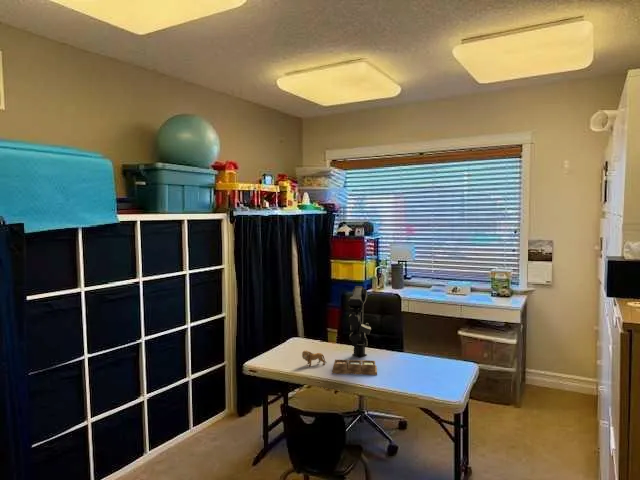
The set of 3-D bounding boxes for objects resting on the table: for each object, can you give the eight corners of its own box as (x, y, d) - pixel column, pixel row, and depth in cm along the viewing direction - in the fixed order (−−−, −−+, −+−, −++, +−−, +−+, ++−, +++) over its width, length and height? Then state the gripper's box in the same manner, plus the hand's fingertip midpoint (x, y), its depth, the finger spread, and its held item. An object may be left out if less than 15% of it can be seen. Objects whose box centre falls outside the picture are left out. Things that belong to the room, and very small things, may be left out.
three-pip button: (336, 368, 240) (336, 364, 240) (336, 365, 245) (336, 361, 245) (345, 368, 240) (345, 364, 240) (345, 365, 245) (345, 361, 245)
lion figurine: (303, 368, 247) (303, 352, 246) (300, 365, 252) (300, 349, 251) (328, 364, 252) (328, 349, 251) (324, 361, 257) (324, 346, 256)
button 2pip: (363, 369, 239) (363, 365, 239) (364, 366, 244) (364, 362, 244) (373, 369, 238) (373, 365, 238) (373, 366, 243) (373, 362, 243)
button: (350, 369, 240) (350, 365, 239) (350, 365, 244) (350, 361, 244) (359, 369, 239) (359, 365, 239) (359, 366, 244) (359, 362, 244)
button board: (332, 373, 238) (332, 364, 238) (333, 367, 248) (333, 358, 248) (377, 374, 236) (377, 366, 235) (376, 368, 246) (376, 359, 245)
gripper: (370, 325, 236) (370, 354, 237) (370, 316, 254) (370, 342, 256) (349, 325, 237) (349, 353, 238) (350, 315, 255) (350, 342, 257)
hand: (355, 347), depth 247 cm, fingers closed
